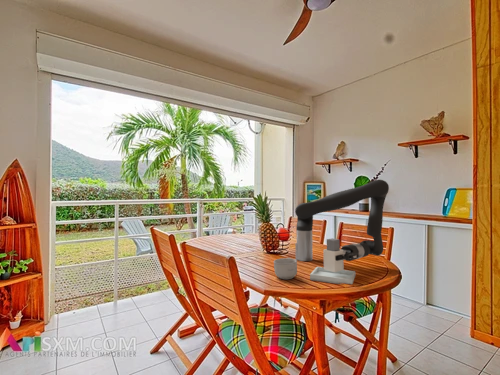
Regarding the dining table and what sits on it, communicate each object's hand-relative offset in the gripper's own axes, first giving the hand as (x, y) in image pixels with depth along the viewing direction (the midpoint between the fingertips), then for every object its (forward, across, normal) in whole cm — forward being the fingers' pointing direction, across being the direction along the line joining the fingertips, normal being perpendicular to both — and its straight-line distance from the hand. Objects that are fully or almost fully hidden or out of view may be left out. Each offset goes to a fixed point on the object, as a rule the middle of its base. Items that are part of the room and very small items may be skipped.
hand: (330, 256), depth 124 cm
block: (-2, 0, +5) cm, 6 cm away
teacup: (+14, -14, +10) cm, 22 cm away
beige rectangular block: (-2, 0, +6) cm, 7 cm away
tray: (-2, 0, +10) cm, 10 cm away
